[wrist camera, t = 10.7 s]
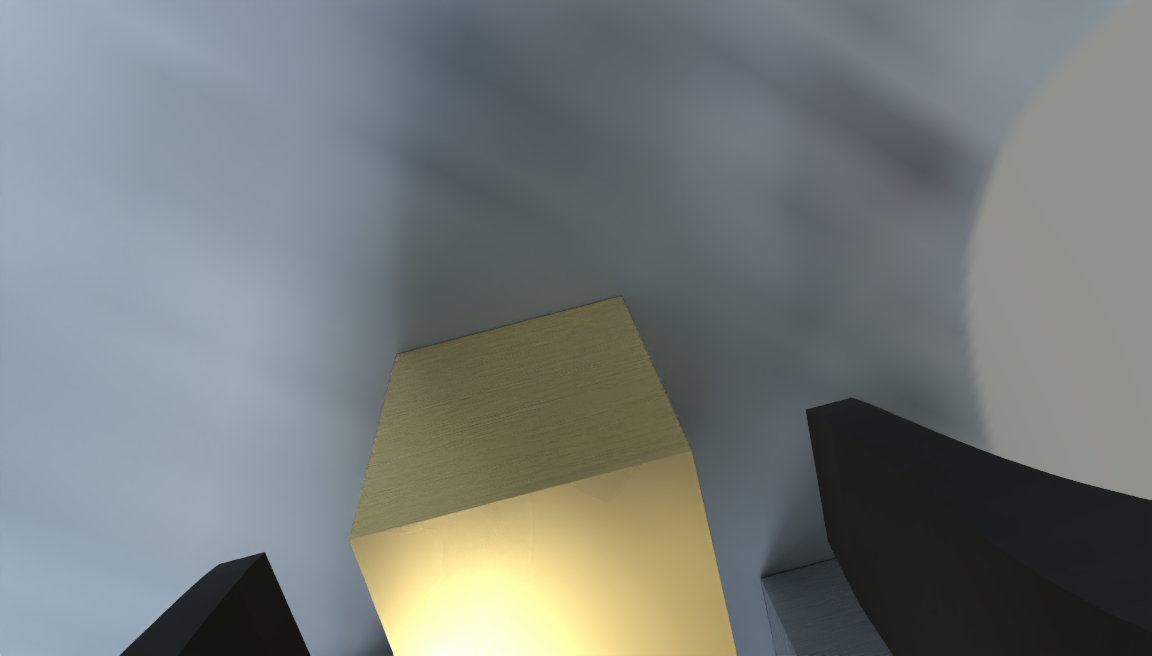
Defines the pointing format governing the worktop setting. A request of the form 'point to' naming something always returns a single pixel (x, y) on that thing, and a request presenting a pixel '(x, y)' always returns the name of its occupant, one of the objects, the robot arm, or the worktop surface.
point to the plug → (538, 500)
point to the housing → (818, 614)
